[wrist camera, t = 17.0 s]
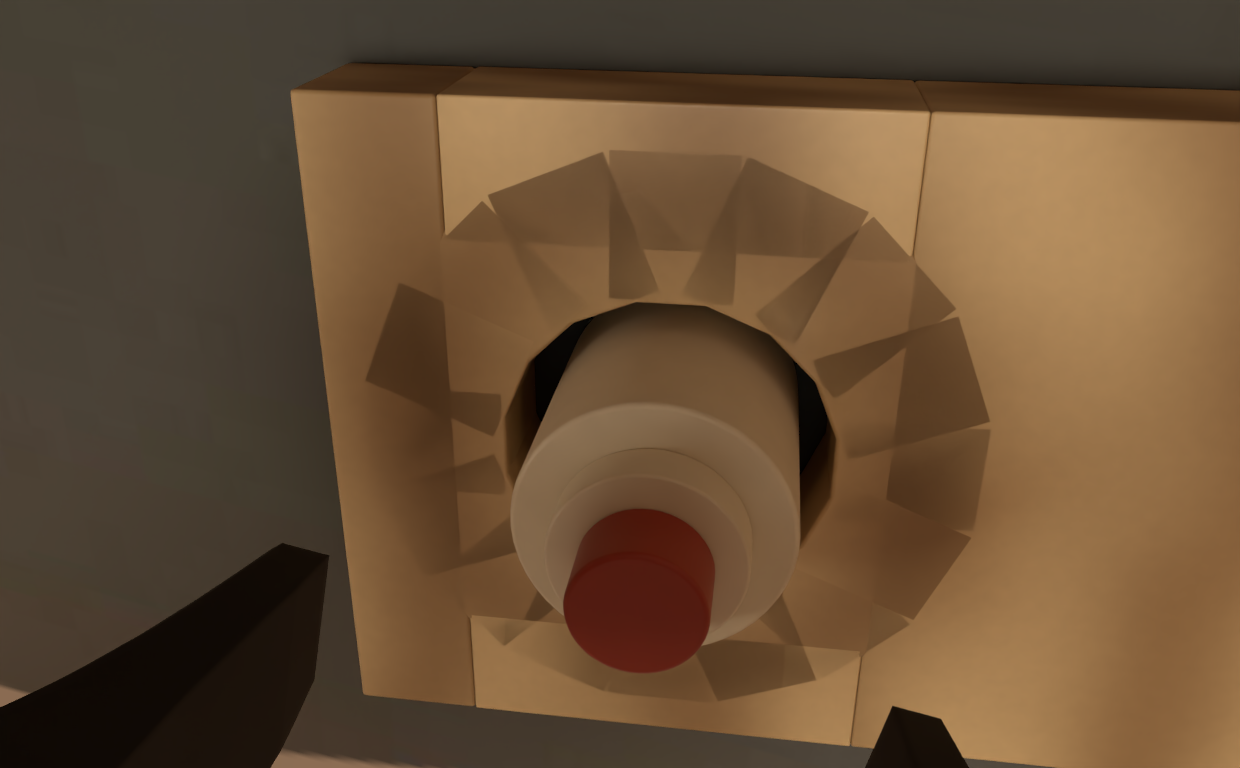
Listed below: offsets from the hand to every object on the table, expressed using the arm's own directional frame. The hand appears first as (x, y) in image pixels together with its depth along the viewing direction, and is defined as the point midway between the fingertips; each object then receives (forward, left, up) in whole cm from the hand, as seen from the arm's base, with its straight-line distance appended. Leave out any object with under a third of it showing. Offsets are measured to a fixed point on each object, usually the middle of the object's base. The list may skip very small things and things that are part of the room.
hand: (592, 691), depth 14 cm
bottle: (0, 0, -8) cm, 8 cm away
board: (+4, -16, -8) cm, 18 cm away
